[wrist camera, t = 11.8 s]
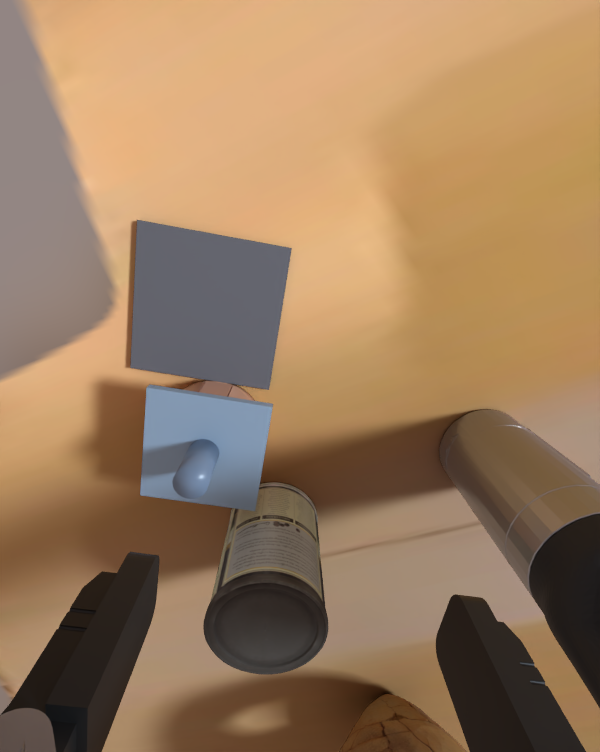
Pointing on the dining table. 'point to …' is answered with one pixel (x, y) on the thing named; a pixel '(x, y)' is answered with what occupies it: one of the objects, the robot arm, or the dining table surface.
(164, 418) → the lid
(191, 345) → the mat
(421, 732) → the bowl
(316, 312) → the dining table surface
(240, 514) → the coffee can
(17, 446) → the dining table surface
